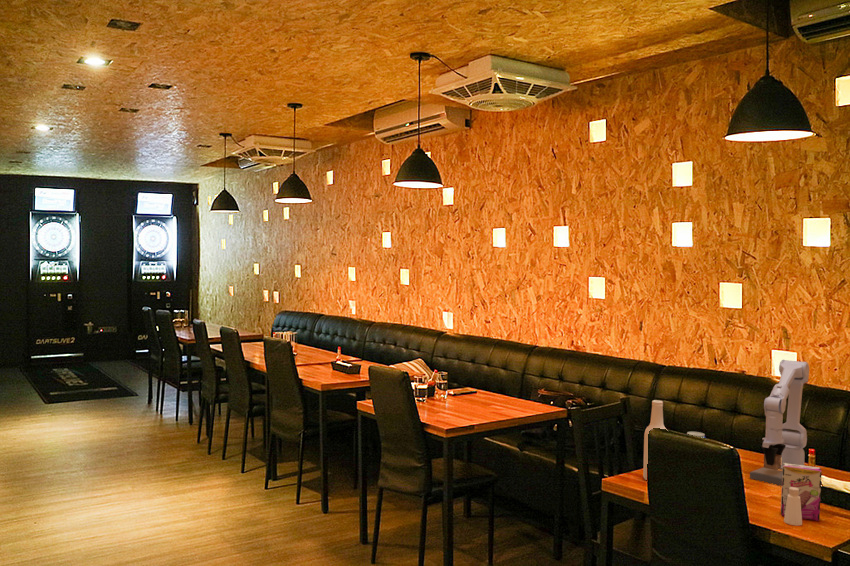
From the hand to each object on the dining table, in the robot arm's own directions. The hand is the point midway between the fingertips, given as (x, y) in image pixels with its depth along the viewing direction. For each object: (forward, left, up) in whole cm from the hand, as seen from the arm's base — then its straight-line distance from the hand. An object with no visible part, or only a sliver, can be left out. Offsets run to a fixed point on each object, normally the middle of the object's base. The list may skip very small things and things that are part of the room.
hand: (772, 463), depth 268 cm
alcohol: (+38, -27, -6) cm, 47 cm away
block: (0, 0, -2) cm, 2 cm away
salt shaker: (+44, +25, -6) cm, 51 cm away
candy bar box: (+36, +24, -6) cm, 44 cm away
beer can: (+18, -22, -6) cm, 29 cm away
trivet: (0, 0, -6) cm, 6 cm away
